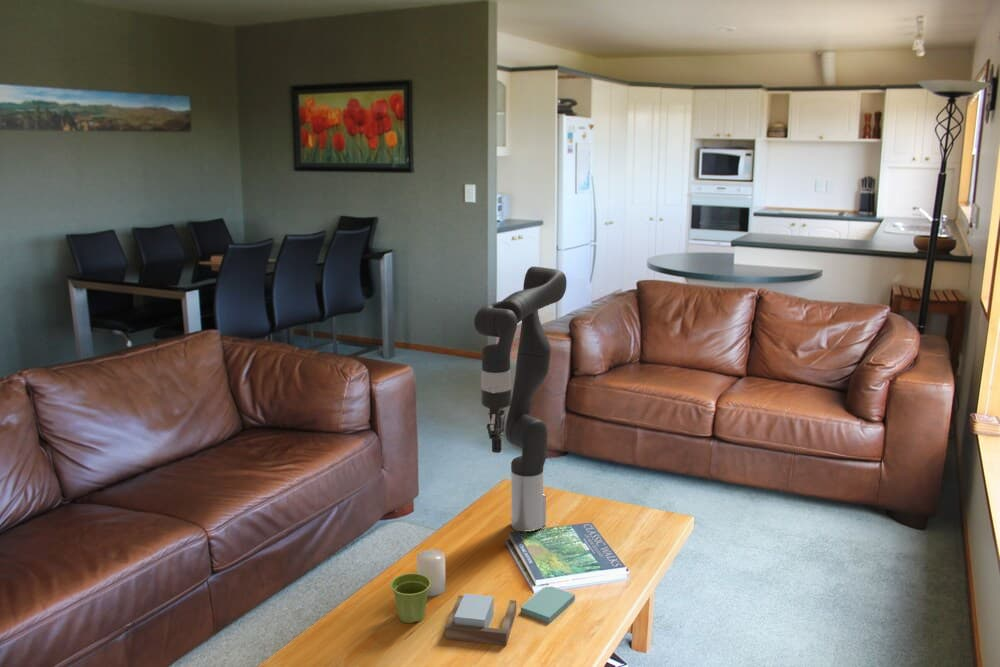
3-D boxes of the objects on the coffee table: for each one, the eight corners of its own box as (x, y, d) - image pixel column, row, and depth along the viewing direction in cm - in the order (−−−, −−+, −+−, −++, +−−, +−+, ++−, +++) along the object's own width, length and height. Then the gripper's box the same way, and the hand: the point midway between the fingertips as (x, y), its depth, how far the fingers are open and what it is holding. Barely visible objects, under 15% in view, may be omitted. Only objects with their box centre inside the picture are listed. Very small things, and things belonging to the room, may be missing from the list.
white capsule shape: (436, 578, 213) (435, 546, 211) (451, 590, 207) (450, 557, 205) (412, 587, 209) (411, 554, 207) (426, 599, 203) (425, 566, 201)
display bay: (458, 606, 200) (458, 595, 199) (516, 612, 198) (516, 600, 197) (445, 639, 187) (445, 627, 186) (506, 645, 185) (506, 633, 184)
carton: (464, 612, 198) (464, 593, 197) (493, 615, 197) (493, 596, 196) (454, 636, 189) (454, 616, 187) (484, 639, 187) (484, 620, 186)
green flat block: (546, 592, 207) (546, 584, 207) (574, 601, 203) (574, 594, 202) (520, 614, 198) (520, 607, 197) (549, 625, 193) (549, 617, 193)
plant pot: (438, 609, 199) (437, 576, 197) (421, 631, 190) (420, 597, 188) (402, 602, 202) (401, 570, 200) (385, 623, 193) (383, 590, 191)
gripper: (486, 378, 215) (487, 441, 219) (476, 393, 202) (477, 460, 206) (515, 379, 213) (515, 443, 217) (506, 395, 201) (506, 462, 205)
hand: (496, 451), depth 212 cm, fingers closed
